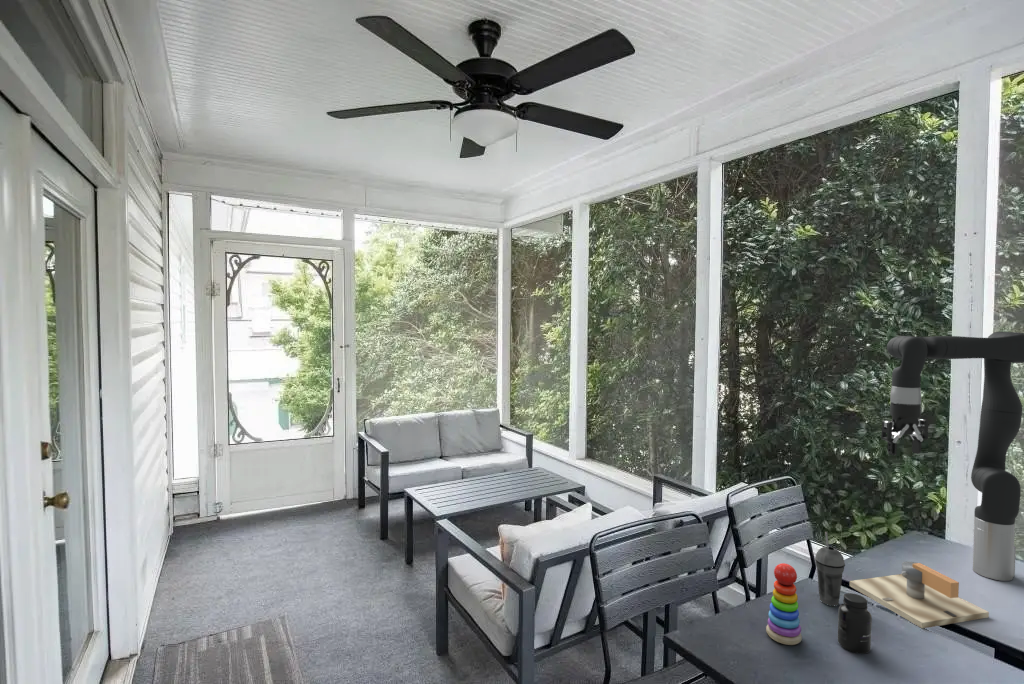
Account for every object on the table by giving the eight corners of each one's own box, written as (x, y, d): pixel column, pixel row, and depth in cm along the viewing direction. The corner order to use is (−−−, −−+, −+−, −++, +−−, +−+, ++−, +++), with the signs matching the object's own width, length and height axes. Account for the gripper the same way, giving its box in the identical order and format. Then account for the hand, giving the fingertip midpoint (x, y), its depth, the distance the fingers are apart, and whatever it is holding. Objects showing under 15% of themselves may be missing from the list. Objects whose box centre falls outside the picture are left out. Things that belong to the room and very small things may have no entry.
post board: (909, 577, 161) (910, 556, 160) (988, 617, 139) (989, 593, 139) (849, 585, 156) (850, 564, 156) (922, 628, 134) (922, 603, 134)
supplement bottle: (871, 658, 123) (872, 608, 122) (837, 648, 126) (838, 600, 126) (870, 643, 129) (871, 595, 128) (837, 634, 132) (838, 587, 132)
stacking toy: (758, 631, 133) (760, 559, 133) (781, 624, 136) (783, 554, 136) (785, 649, 126) (786, 573, 125) (809, 642, 129) (810, 567, 128)
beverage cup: (850, 609, 143) (851, 537, 143) (823, 609, 144) (824, 537, 143) (834, 595, 151) (835, 526, 150) (808, 595, 151) (810, 526, 150)
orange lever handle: (892, 572, 150) (893, 559, 150) (918, 570, 151) (918, 557, 151) (940, 599, 136) (940, 584, 135) (968, 596, 137) (968, 581, 137)
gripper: (914, 398, 165) (912, 449, 165) (874, 400, 162) (873, 452, 163) (937, 402, 157) (935, 455, 158) (896, 404, 155) (895, 458, 156)
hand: (904, 453), depth 161 cm, fingers open, 8 cm apart
